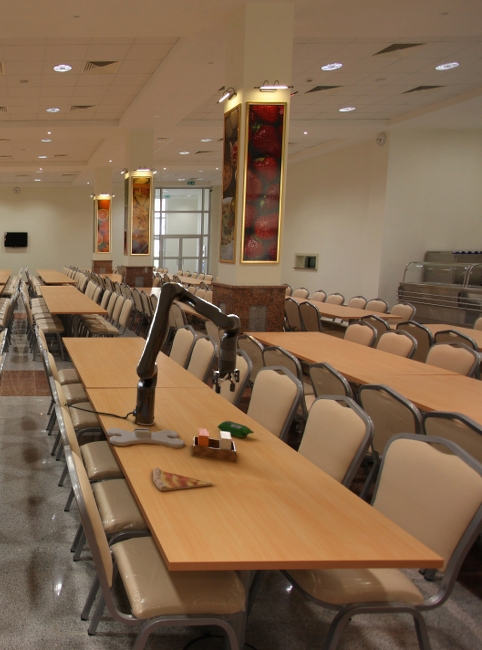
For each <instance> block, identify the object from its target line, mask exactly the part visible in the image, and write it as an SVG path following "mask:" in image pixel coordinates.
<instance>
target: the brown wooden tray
mask: <svg viewBox="0 0 482 650" xmlns="http://www.w3.org/2000/svg"><path fill="white" fill-rule="evenodd" d="M192 438H193V439H192V456H194V457H202V458H208V459H215V460H221V461H222V460H223V461H230V462H236V459H237V458H236V457H237V449H236V444H235V441H233V440H231V450H226V449H219V441H220V438H219V439H218V438H212V437H209V442H208V447H204V446H198V435H193V437H192Z"/></svg>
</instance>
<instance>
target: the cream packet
mask: <svg viewBox="0 0 482 650" xmlns="http://www.w3.org/2000/svg"><path fill="white" fill-rule="evenodd" d="M219 439H220V441H219V449H226V450H231V441H232V435H231V434H230V432H224V431H221V430H220V431H219Z"/></svg>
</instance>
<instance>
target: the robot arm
mask: <svg viewBox="0 0 482 650" xmlns="http://www.w3.org/2000/svg"><path fill="white" fill-rule="evenodd" d="M174 302H178V303H181V304H184V305H186V306H187V307H188V308H190V309H191V310H192V311H194V312H195V313H196V314H197V315H199V316H201V317H202V318H204V319H206V320H208V321H209V322H211V323H212V324H213V325H214V326H215V327H217V328H218V329H220V330H222V331H223V335H221V337H220V340H219V350H218V359H217V367H218V371H216V370H214V371H212V378H211V384H212V385H214V386H215V389H214V392H215V394H218V395H220V394H221V389H222V384H223V383H224V382H225V381H229V392H231V393H234V392H235V391H236V385H237V383H240V378H241V371H240V370H239V369H237V355H238V353H237V351H238V350H237V348H238V338H239V336H240V331H241V326H242V323H241V319H240V317H238V316H237V315H235V314H229V315H227V314H225V313H224V312H222V310H221V309H220V308H219V307H217V306H216V305H214V304H212V303H210V302H207V301H206V300H205V299H202V298H200V297H198V295H195V294H194V293H192V292H190V291H189V290H188V289H187V288H186V287H184V286H183V285H182V284H181V283H178V282H174V281H173V282H170V281H169V282H165V283H163V284H162V285H161V286H160V289H159V292H158V296H157V302H156V306H155V310H154V313H153V316H152V320H151V322H150V326H149V329H148V332H147V335H146V339H145V342H144V343H145V344H144V348H143V350H142V351H143V352H142V354H141V356H140V358H139V361H138V363H137V365H136V368H135V370H136V371H135V372H136V375H137V376H138V383H137V385H136V401H135V408H133V410H132V411H131V412H128V413H127V414H126V416H120V415H117V414H114V413H109V412H101V411H95V410H91V409H87V408H82V407H79V406H74V405H72V404H69V403H66V402H64V403H65V405H64V406H67V407H70V408H72V409H76V410H79V411H82V412H88V413H93V414H98V415H103V416H104V415H105V416H111V417H115V418H119V419H124V420H125V419H128V418H129V416H130V415H132V417H134V424H138V425H141V426H147V427H148V426H153V425H154V424H155V422H154V421H155V407H156V390H157V389H156V388H157V385H158V374H159V368H158V364H157V363H156V362H157V359H158V356H159V353H160V352H161V350H162V348H163V347H164V345H165V343H166V341H167V338H168V335H169V331H170V328H171V327H170V326H171V319H170V313H171V310H172V306H173V303H174ZM54 400H55V399H51V402H54Z"/></svg>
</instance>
